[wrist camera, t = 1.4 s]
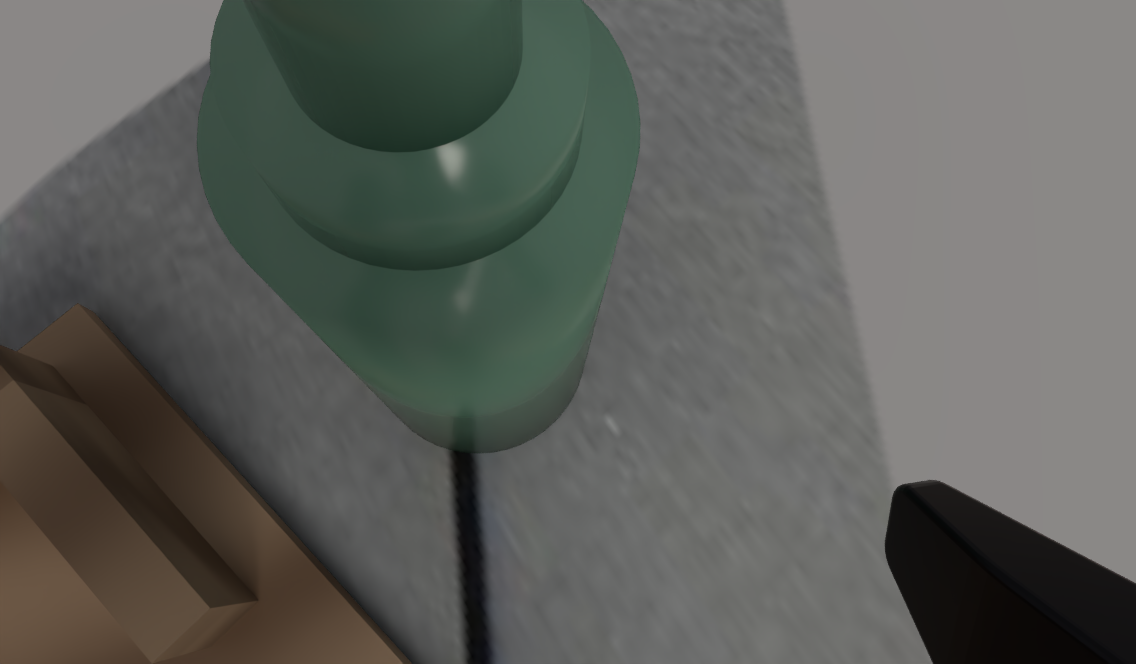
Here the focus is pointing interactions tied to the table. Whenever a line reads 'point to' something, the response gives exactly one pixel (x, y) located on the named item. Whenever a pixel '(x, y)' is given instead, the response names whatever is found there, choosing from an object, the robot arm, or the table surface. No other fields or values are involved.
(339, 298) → the oil bottle
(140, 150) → the table surface
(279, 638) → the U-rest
